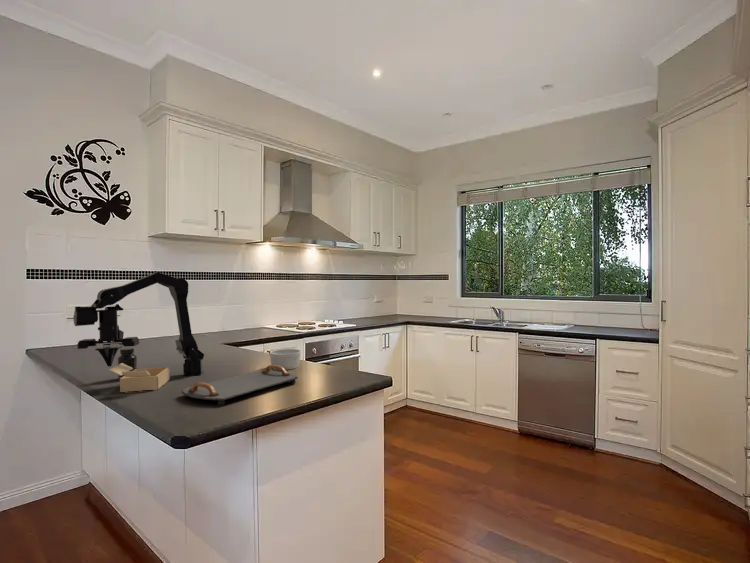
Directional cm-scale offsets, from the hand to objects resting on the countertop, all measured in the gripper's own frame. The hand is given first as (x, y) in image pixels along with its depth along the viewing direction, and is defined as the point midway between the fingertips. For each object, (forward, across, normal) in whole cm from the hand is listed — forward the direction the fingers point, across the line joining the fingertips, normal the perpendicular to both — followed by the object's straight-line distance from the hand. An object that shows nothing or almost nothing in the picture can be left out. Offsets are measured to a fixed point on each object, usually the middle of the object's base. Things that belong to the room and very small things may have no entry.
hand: (109, 366), depth 162 cm
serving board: (+9, -48, +16) cm, 52 cm away
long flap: (+3, -6, 0) cm, 7 cm away
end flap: (+3, -12, +8) cm, 15 cm away
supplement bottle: (+8, -1, -16) cm, 18 cm away
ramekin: (+8, -63, -18) cm, 66 cm away
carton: (+8, -12, 0) cm, 14 cm away
